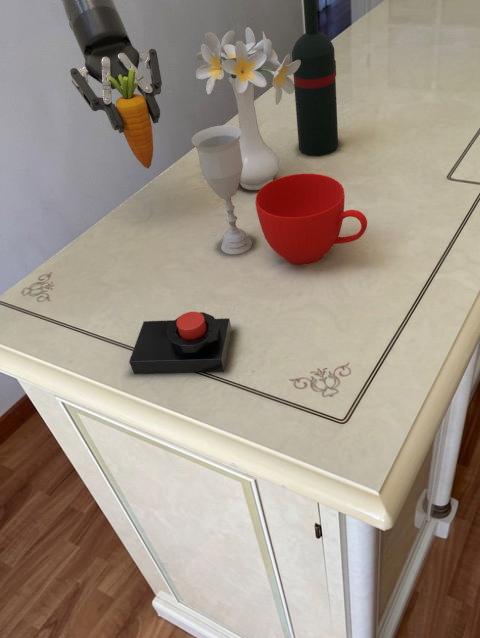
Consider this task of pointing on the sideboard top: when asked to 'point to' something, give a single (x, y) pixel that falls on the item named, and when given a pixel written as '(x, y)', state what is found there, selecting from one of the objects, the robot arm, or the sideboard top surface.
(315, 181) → the ceramic cup
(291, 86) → the flower vase
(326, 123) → the wine bottle
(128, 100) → the carrot
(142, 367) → the black flat block
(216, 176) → the chalice
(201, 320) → the red short cylinder
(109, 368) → the sideboard top surface
